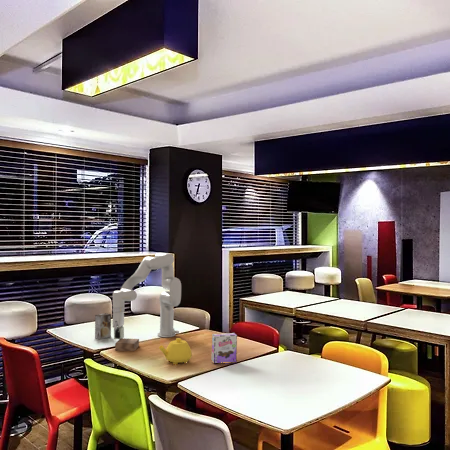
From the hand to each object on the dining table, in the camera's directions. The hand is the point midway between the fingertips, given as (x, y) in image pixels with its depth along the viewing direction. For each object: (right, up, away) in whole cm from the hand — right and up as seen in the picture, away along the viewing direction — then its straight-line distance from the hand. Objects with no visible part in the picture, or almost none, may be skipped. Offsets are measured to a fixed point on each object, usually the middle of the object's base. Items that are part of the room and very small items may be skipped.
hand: (119, 336), depth 301 cm
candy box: (+70, -7, -36) cm, 79 cm away
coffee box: (-15, -5, +16) cm, 23 cm away
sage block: (0, -1, 0) cm, 1 cm away
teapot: (+41, -6, -39) cm, 57 cm away
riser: (+8, -5, -10) cm, 14 cm away
